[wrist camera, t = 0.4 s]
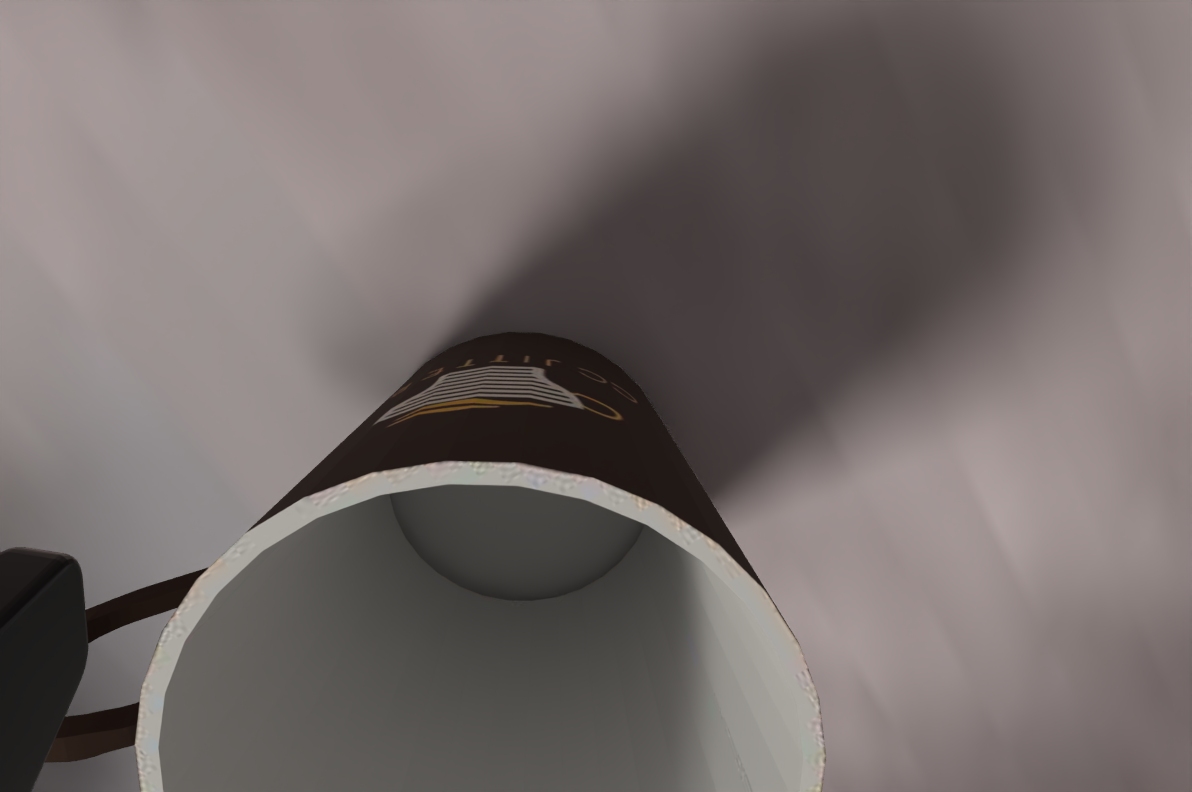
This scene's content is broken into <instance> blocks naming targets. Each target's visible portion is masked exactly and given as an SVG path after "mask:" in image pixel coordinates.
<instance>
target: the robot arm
mask: <svg viewBox="0 0 1192 792" xmlns="http://www.w3.org/2000/svg"><path fill="white" fill-rule="evenodd" d="M87 655H88V635H87V623H86V612H85V601H84V589H83V578H82V572H81V567H80V565H79V563H78V561H77V560H76V559H75V558H74V557H72V556H70V555H68V554H64V553H58V552H51V551H45V550H38V549H32V548H26V547H15V548H10V549H8V550H5V551H3V552H0V792H31V791H32V789H33V787H34V784H35V782H36V780H37V778H38V775H39V773H40V771H41V769H42V766H43V764H44V762H45V760H46V757H47V755H48V753H49V751H50V748H51V746H52V744H53V742H54V739H55V737H56V735H57V733H58V730H59V728H60V726H61V724H62V721H63V719H64V717H65V715H66V712H67V710H68V708H69V706H70V703H71V701H72V699H73V697H74V694H75V692H76V690H77V688H78V685H79V683H80V681H81V678H82V676H83V672H84V669H85V665H86V661H87Z"/></svg>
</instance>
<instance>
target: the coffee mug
mask: <svg viewBox="0 0 1192 792" xmlns="http://www.w3.org/2000/svg"><path fill="white" fill-rule="evenodd" d="M175 608H177V610H176V611H175V613H174V614H173V616H172V617H171V619H170V620H169V622H168V623H167V625H166V626H165V628H164V629H163V631H162V633H161V636H160V639H159V641H158V644H157V647H156V649H155V652H154V655H153V657H152V660H151V663H150V666H149V668H148V671H147V674H146V676H145V679H144V682H143V684H142V687H141V695H140V702H138V703H135V704H132V705H128V706H124V707H120V708H115V709H110V710H104V711H99V712H94V713H90V714H84V715H78V716H68V717H64V719H63V721H62V724H61V726H60V728H59V730H58V733H57V735H56V737H55V739H54V742H53V744H52V746H51V748H50V751H49V753H48V755H47V757H46V760H45V762H71V761H77V760H82V759H87V758H91V757H95V756H98V755H100V754H103V753H107V752H110V751H114V750H117V749H121V748H124V747H128V746H132V745H135V752H136V760H137V768H138V776H139V784H140V792H822V786H823V778H824V769H825V761H826V753H825V744H824V735H823V727H822V718H821V709H820V701H819V697H818V694H817V692H816V689H815V686H814V683H813V681H812V678H811V675H810V672H809V669H808V667H807V664H806V661H805V658H804V656H803V653H802V650H801V647H800V645H799V642H798V641H797V639H796V638H795V636H794V634H793V633H792V631H791V630H790V628H789V626H788V625H787V623H786V621H785V620H784V618H783V617H782V615H781V613H780V612H779V610H778V609H777V607H776V605H775V604H774V602H773V601H772V599H771V597H770V596H769V594H768V592H767V591H766V589H765V588H764V586H763V584H762V583H761V581H760V580H759V578H758V576H757V575H756V573H755V571H754V570H753V568H752V567H751V565H750V563H749V562H748V560H747V559H746V557H745V555H744V554H743V552H742V550H741V549H740V547H739V546H738V544H737V542H736V541H735V539H734V538H733V536H732V534H731V533H730V531H729V530H728V528H727V526H726V525H725V523H724V521H723V520H722V518H721V517H720V515H719V513H718V512H717V510H716V509H715V507H714V505H713V504H712V502H711V500H710V499H709V497H708V496H707V494H706V492H705V491H704V489H703V488H702V486H701V484H700V483H699V481H698V480H697V478H696V476H695V475H694V473H693V471H692V470H691V468H690V467H689V465H688V463H687V462H686V460H685V459H684V457H683V455H682V454H681V452H680V450H679V449H678V447H677V446H676V444H675V442H674V441H673V439H672V438H671V436H670V434H669V433H668V431H667V429H666V428H665V426H664V425H663V423H662V421H661V420H660V418H659V417H658V415H657V413H656V412H655V410H654V409H653V407H652V406H651V404H650V402H649V401H648V399H647V398H646V396H645V395H644V393H643V392H642V390H641V389H640V388H639V386H638V385H637V384H636V383H635V382H634V381H633V380H632V379H631V378H630V377H629V376H628V375H627V374H626V373H625V372H624V371H623V370H622V369H621V368H620V367H618V366H617V365H615V364H614V363H612V362H611V361H609V360H608V359H607V358H605V357H604V356H602V355H601V354H599V353H598V352H596V351H594V350H592V349H589V348H587V347H585V346H582V345H580V344H578V343H576V342H573V341H571V340H568V339H564V338H559V337H555V336H550V335H546V334H541V333H518V332H507V333H501V334H495V335H489V336H483V337H478V338H476V339H473V340H470V341H468V342H465V343H462V344H459V345H457V346H454V347H451V348H450V349H448V350H446V351H445V352H443V353H442V354H440V355H438V356H437V357H435V358H434V359H432V360H430V361H429V362H427V363H426V364H425V365H424V366H423V367H422V368H420V369H419V370H418V371H417V372H416V373H415V374H414V375H413V376H412V377H411V378H410V379H409V380H408V381H407V382H406V383H405V384H403V385H402V386H401V387H400V388H399V389H398V390H397V391H396V392H395V393H394V394H393V395H392V396H391V397H390V398H389V399H387V400H386V401H385V402H384V403H383V404H382V405H381V406H380V407H379V408H378V409H377V410H376V411H375V412H374V413H373V414H372V415H370V416H369V417H368V418H367V419H366V420H365V421H364V422H363V423H362V424H361V425H360V426H359V427H358V428H357V429H356V430H355V431H353V432H352V433H351V434H350V435H349V436H348V437H347V438H346V439H345V440H344V441H343V442H342V443H341V444H340V445H339V446H338V447H336V448H335V449H334V450H333V451H332V452H331V453H330V454H329V455H328V456H327V457H326V458H325V459H324V460H323V461H322V462H320V463H319V464H318V465H317V466H316V467H315V468H314V469H313V470H312V471H311V472H310V473H309V474H308V475H307V476H306V477H305V478H303V479H302V480H301V481H300V482H299V483H298V484H297V485H296V486H295V487H294V488H293V489H292V490H291V491H290V492H289V493H288V494H286V495H285V496H284V497H283V498H282V499H281V500H280V501H279V502H278V503H277V504H276V505H275V506H274V507H273V508H272V509H271V510H269V511H268V512H267V513H266V514H265V515H264V516H263V517H262V518H261V519H260V520H259V521H258V522H257V523H256V524H255V525H254V526H252V527H251V528H250V529H249V530H248V531H247V532H246V533H245V534H244V535H243V536H242V537H241V538H240V539H239V540H238V541H237V542H236V543H234V544H233V545H232V546H231V547H230V548H229V549H228V550H227V551H226V552H225V553H224V554H223V555H222V556H221V557H220V558H219V559H218V560H217V561H215V562H214V563H213V564H212V565H211V566H210V567H209V568H206V569H202V570H199V571H196V572H193V573H189V574H186V575H183V576H180V577H176V578H173V579H170V580H167V581H164V582H160V583H157V584H154V585H151V586H148V587H145V588H142V589H139V590H136V591H133V592H131V593H128V594H125V595H123V596H120V597H117V598H115V599H112V600H110V601H107V602H105V603H102V604H100V605H97V606H95V607H92V608H90V609H87V610H85V612H86V623H87V635H88V643H90V642H92V641H93V640H95V639H97V638H98V637H100V636H102V635H105V634H107V633H109V632H111V631H113V630H115V629H118V628H120V627H122V626H125V625H127V624H130V623H133V622H136V621H138V620H141V619H144V618H147V617H150V616H153V615H157V614H160V613H163V612H166V611H169V610H172V609H175Z"/></svg>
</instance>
